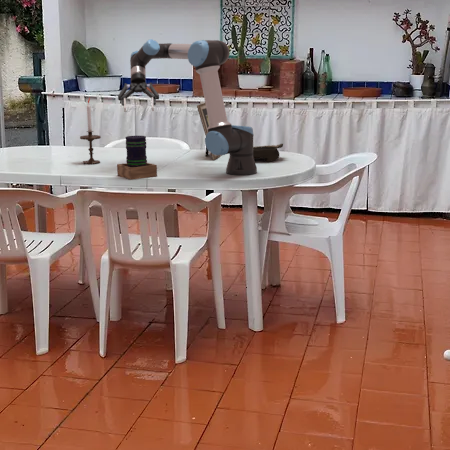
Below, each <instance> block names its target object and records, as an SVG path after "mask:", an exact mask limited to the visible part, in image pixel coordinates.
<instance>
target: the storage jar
mask: <svg viewBox="0 0 450 450" xmlns="http://www.w3.org/2000/svg"><path fill="white" fill-rule="evenodd" d="M146 139H147V138H146V136H145V135H128V136H125V150H126V163H127V166H128V167H141V166H147V163H148V157H147V156H148V155H147V140H146Z"/></svg>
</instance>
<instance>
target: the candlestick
mask: <svg viewBox="0 0 450 450" xmlns="http://www.w3.org/2000/svg"><path fill="white" fill-rule="evenodd" d="M90 100H91V98H90V97H89V98H88V100H87V106H86V113H87V114H86V115H87V131H86V133H87V134H86V135H79V139H80V140H84V141H85V140H86V141H88V143H89V144H88V145H89V147H88V151H89V153H88V154H89V159H87V160H84V161H82V164H83V163H84V164H83V165H98V164H101V161H100V160H99V159H98V160H97V159H94V157H93V155H94V153H93V152H94V148H93V142H94V141H95V140H99V139H101V138H102V137H101V135H98V134H97V135H96V134H93V133H94V130H93V128H92V111H91V109H92V107H91V105H90Z"/></svg>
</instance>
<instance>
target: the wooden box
mask: <svg viewBox="0 0 450 450" xmlns="http://www.w3.org/2000/svg"><path fill="white" fill-rule="evenodd" d="M157 166H158V165H157V164H154V163H150V162H147V166H141V167H128V166H127V162H126V163H117V165H116V167H117V170H116V171H117V173H116V174H117V176H118V177H121V178H125V179H128V180H132V181H133V180H138V179H147V178H154V177H158V167H157Z"/></svg>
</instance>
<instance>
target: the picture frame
mask: <svg viewBox="0 0 450 450" xmlns="http://www.w3.org/2000/svg"><path fill="white" fill-rule="evenodd" d="M196 108H197V111H198V115H199V117H200V122H201V125H202V128H203V131H204V136H205V137H206V135H207V133H208V127H209V125H210V123H209V118H208V113H207V108H206V103H205V102H202V103H200V104H197V105H196ZM209 153H210V155H211V160H212V161H215V160H216V159H218V158H219V157H221V156H222V155H214V154H212V153H211V152H209V151H208V149H207V147H206V146H205V155H204V157H205V158H207V157H208V156H209Z"/></svg>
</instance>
